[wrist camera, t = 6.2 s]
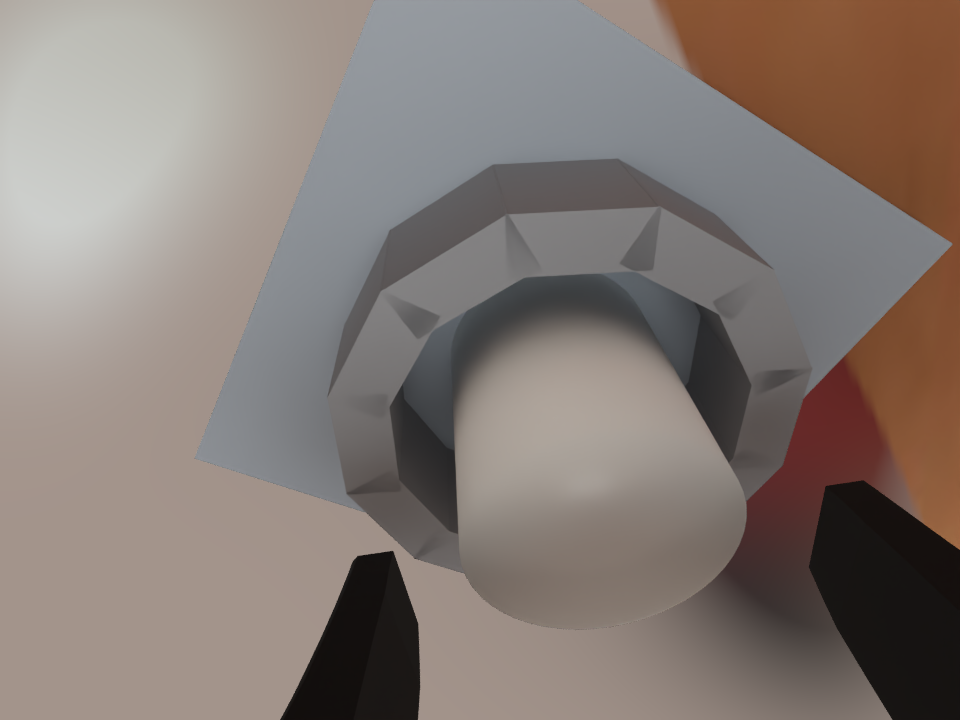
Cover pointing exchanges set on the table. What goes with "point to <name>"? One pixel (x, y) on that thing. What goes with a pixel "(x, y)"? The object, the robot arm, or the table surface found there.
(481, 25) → the square flange mount
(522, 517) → the white rounded cylinder
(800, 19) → the table surface
